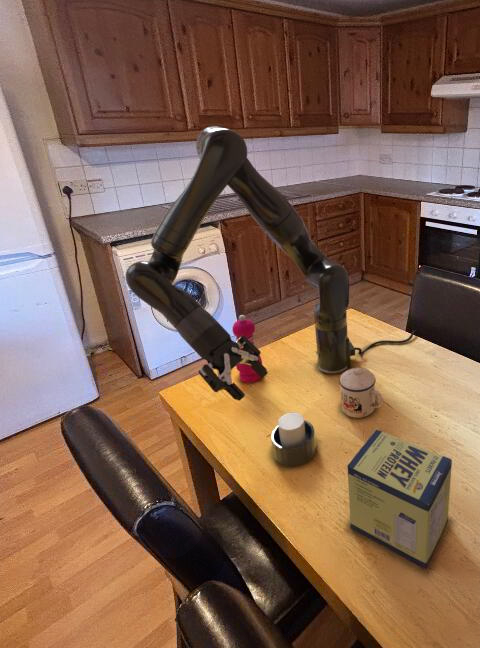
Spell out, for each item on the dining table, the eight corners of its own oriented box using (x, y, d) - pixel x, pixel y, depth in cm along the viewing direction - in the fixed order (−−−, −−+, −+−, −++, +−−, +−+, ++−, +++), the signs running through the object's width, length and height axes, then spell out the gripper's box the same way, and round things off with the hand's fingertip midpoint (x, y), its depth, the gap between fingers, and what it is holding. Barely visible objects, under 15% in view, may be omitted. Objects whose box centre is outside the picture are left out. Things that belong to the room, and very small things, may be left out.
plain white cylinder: (304, 437, 97) (301, 409, 94) (308, 454, 92) (306, 426, 89) (280, 443, 96) (276, 415, 92) (283, 461, 91) (280, 432, 87)
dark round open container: (310, 431, 100) (309, 415, 98) (319, 460, 91) (318, 442, 90) (271, 441, 97) (269, 424, 95) (276, 471, 89) (274, 454, 87)
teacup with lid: (333, 410, 107) (331, 372, 102) (354, 391, 113) (353, 355, 109) (371, 428, 100) (371, 389, 96) (392, 408, 107) (392, 370, 102)
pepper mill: (267, 369, 124) (259, 309, 116) (258, 384, 117) (249, 321, 109) (243, 368, 124) (234, 309, 117) (234, 383, 118) (223, 321, 110)
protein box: (376, 487, 85) (375, 427, 79) (448, 521, 77) (454, 458, 71) (348, 528, 76) (345, 465, 70) (426, 571, 69) (430, 505, 63)
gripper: (186, 340, 82) (242, 399, 83) (232, 309, 95) (280, 361, 95) (171, 357, 86) (225, 414, 87) (216, 326, 99) (263, 376, 99)
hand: (254, 386), depth 91 cm, fingers open, 8 cm apart
